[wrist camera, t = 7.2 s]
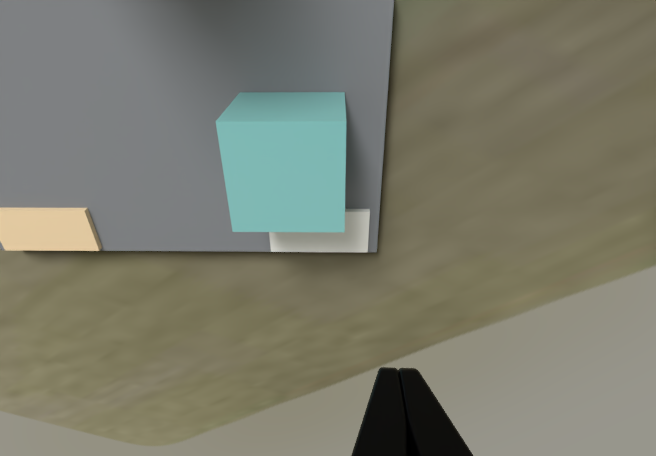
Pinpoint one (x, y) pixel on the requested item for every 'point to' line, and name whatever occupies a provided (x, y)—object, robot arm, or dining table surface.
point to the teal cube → (285, 161)
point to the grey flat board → (173, 116)
